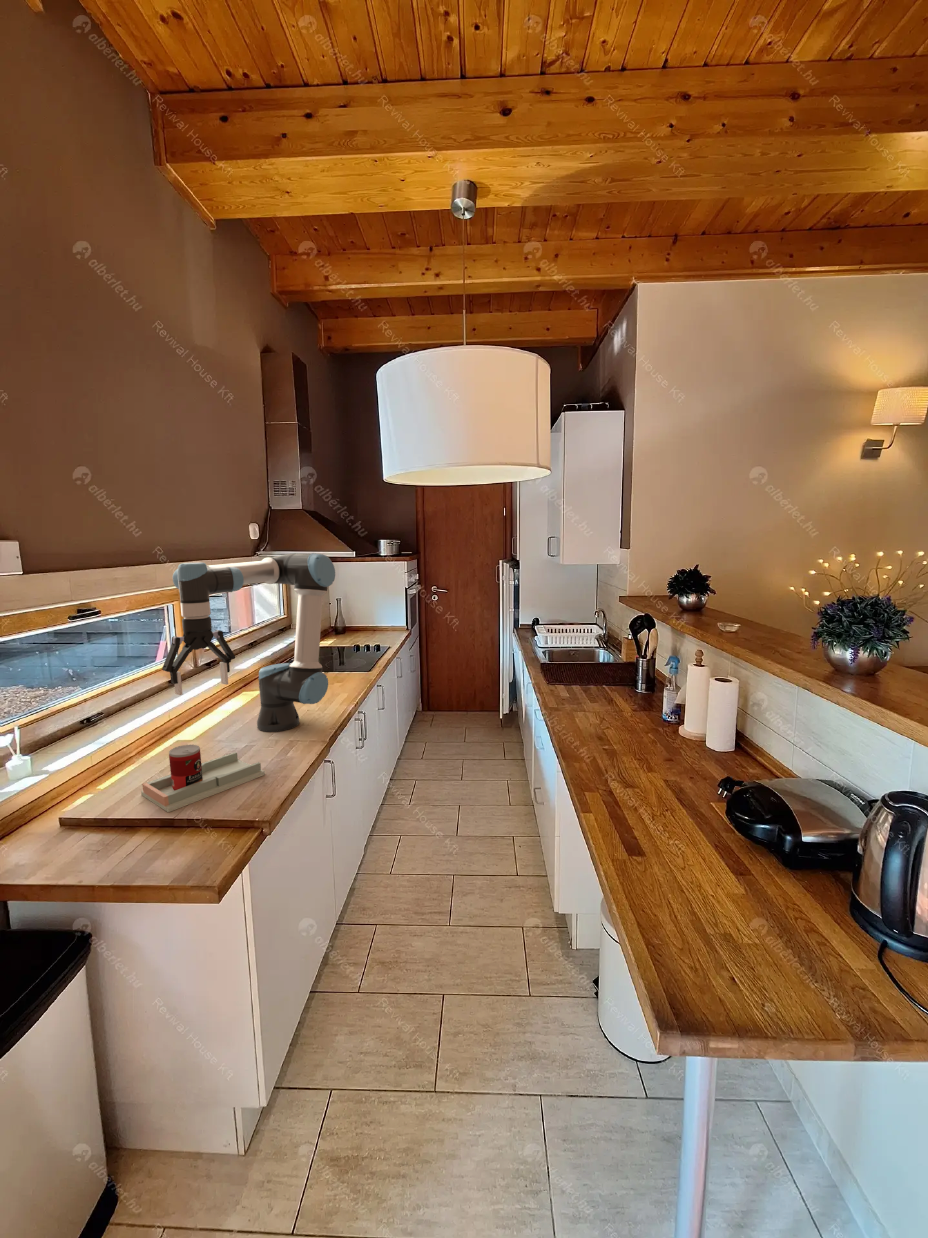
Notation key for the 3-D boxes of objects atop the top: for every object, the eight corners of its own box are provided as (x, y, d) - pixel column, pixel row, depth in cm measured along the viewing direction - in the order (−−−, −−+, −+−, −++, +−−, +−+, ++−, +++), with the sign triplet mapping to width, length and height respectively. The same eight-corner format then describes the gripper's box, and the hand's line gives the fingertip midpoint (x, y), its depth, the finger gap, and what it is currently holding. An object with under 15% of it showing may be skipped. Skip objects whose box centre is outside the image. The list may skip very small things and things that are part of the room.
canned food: (191, 794, 150) (187, 756, 148) (165, 791, 152) (161, 754, 150) (209, 782, 158) (206, 745, 156) (184, 779, 159) (181, 743, 157)
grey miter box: (236, 761, 174) (235, 750, 174) (264, 774, 165) (263, 763, 164) (141, 795, 153) (140, 782, 152) (168, 812, 143) (166, 799, 142)
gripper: (230, 610, 169) (235, 677, 173) (144, 621, 150) (151, 696, 153) (243, 612, 165) (248, 681, 168) (156, 623, 145) (164, 701, 149)
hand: (202, 688), depth 161 cm, fingers open, 13 cm apart
